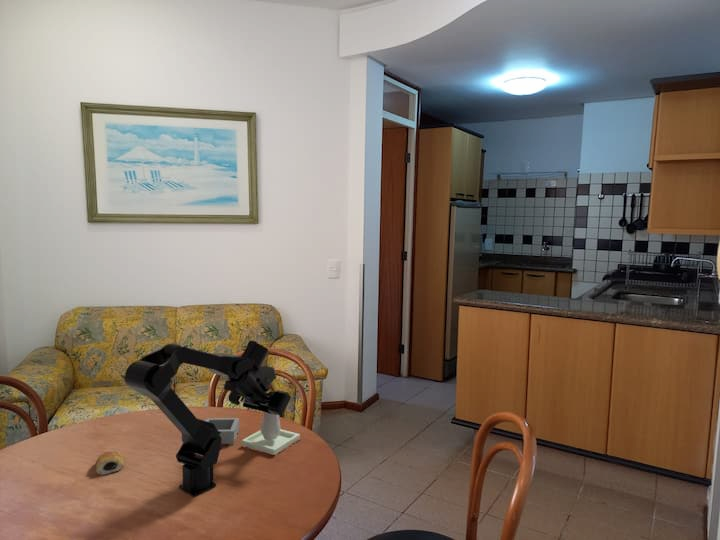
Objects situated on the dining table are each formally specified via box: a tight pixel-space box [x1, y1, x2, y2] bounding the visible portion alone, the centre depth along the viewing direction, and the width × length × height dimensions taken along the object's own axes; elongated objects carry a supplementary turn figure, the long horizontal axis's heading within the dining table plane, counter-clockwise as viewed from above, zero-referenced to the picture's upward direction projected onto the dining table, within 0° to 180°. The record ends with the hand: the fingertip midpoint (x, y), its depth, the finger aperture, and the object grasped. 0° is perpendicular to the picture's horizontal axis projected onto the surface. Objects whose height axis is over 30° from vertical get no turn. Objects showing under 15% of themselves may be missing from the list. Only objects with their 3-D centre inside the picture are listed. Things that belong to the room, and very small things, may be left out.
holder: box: [204, 417, 240, 445], centre depth 146 cm, size 10×10×4 cm
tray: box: [241, 428, 301, 455], centre depth 143 cm, size 12×12×2 cm
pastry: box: [95, 451, 126, 476], centre depth 128 cm, size 9×7×4 cm
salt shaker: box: [260, 396, 281, 440], centre depth 142 cm, size 6×6×13 cm
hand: (271, 411), depth 143 cm, fingers closed on salt shaker, 3 cm apart
